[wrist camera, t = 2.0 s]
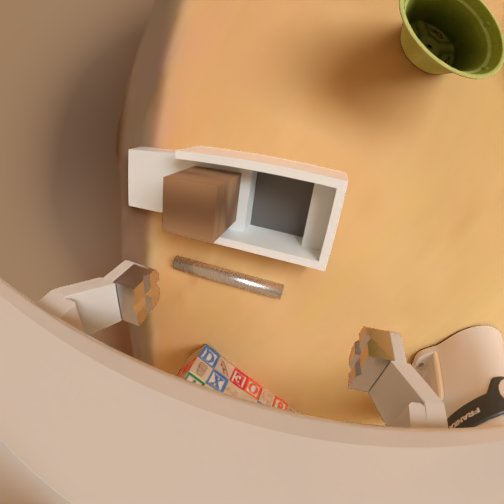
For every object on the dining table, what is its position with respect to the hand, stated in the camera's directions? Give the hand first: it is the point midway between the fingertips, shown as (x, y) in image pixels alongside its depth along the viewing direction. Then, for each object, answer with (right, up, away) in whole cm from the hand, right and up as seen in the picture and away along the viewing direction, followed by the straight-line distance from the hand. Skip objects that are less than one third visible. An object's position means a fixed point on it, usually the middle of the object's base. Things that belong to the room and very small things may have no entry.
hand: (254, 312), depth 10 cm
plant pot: (+17, +22, +7) cm, 29 cm away
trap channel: (-3, +9, +20) cm, 22 cm away
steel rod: (-3, 0, +23) cm, 24 cm away
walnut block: (-4, +8, +18) cm, 20 cm away
